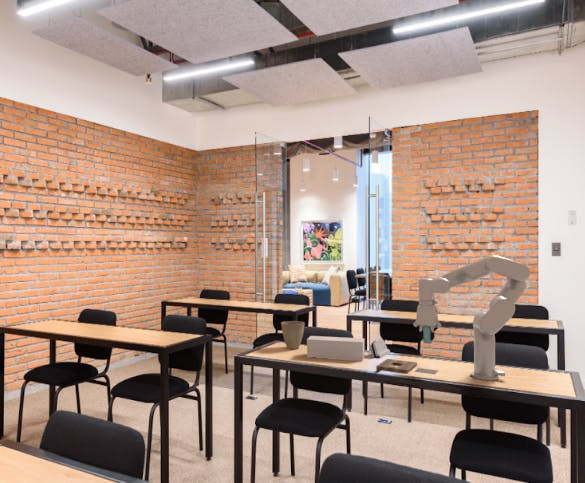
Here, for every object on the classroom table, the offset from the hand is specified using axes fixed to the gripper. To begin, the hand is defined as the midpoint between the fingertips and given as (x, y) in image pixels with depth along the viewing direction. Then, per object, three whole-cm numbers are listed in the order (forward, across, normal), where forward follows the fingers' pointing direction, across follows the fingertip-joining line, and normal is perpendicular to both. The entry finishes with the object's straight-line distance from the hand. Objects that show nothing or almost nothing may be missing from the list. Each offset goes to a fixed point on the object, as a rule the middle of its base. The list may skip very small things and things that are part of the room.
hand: (427, 339), depth 228 cm
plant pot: (+16, +88, -18) cm, 91 cm away
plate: (+17, +1, 0) cm, 17 cm away
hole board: (+17, +16, 0) cm, 23 cm away
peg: (+2, 0, 0) cm, 2 cm away
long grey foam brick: (+17, +55, -10) cm, 58 cm away
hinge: (+17, +35, -29) cm, 48 cm away
